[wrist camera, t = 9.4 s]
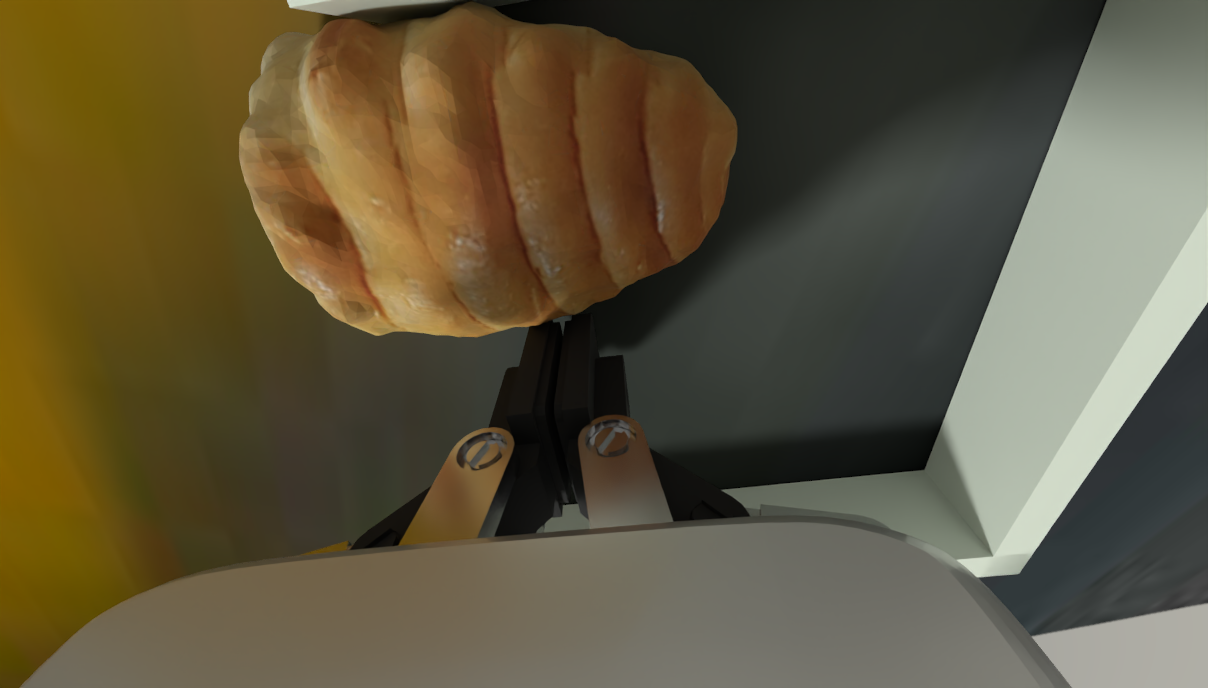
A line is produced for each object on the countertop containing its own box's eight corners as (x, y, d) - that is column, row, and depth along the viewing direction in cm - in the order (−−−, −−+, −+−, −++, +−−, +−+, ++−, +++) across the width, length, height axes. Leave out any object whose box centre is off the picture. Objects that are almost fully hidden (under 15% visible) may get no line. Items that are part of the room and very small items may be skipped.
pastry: (720, -31, 9) (792, -80, 6) (716, 277, 12) (757, 354, 9) (274, 42, 9) (105, 36, 6) (398, 316, 13) (332, 402, 10)
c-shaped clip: (364, -51, 8) (240, -112, 6) (1261, -218, 7) (1694, -399, 4) (552, 524, 18) (544, 612, 15) (947, 487, 17) (1018, 573, 14)
